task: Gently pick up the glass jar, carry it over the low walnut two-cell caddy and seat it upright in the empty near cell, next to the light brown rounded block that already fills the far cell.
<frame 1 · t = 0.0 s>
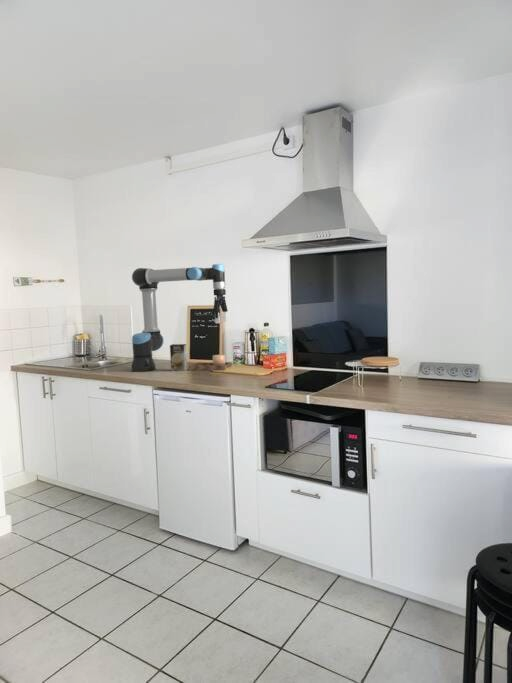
hand: (221, 322, 308), 28 cm above the worktop, fingers open, 13 cm apart
caddy: (210, 369, 298), on the worktop
light brown rounded block: (219, 368, 297), point 1 cm above the worktop, touching caddy
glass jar: (179, 370, 303), on the worktop
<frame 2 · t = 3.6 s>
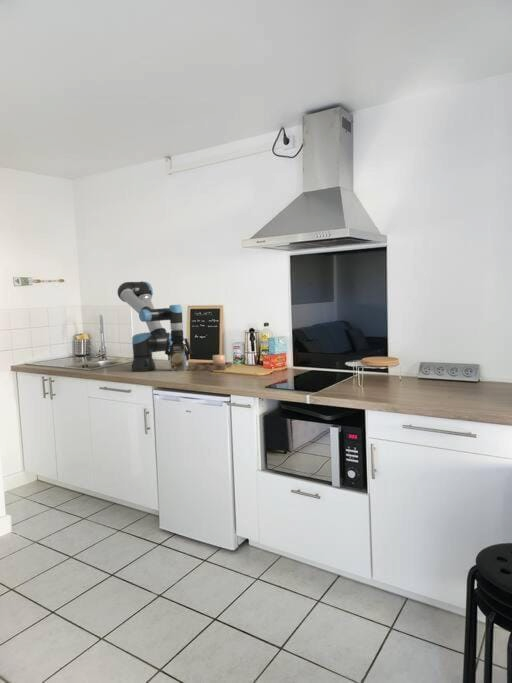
hand: (179, 365, 302), 3 cm above the worktop, fingers closed on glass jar, 10 cm apart
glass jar: (179, 370, 303), on the worktop, touching gripper
everything else where it was.
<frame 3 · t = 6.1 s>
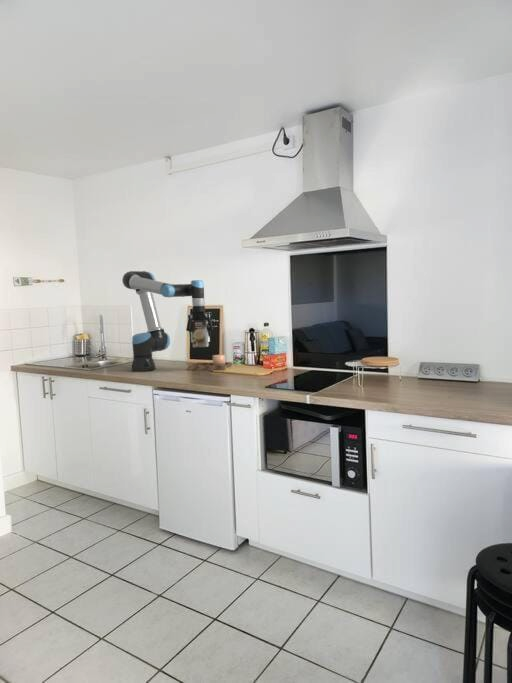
hand: (200, 342, 298), 17 cm above the worktop, fingers closed on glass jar, 10 cm apart
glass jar: (200, 346, 298), point 14 cm above the worktop, touching gripper
everything else where it was.
when the fingers open (5 cm above the worktop, at t = 8.8 s): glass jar drops 1 cm, resting on caddy.
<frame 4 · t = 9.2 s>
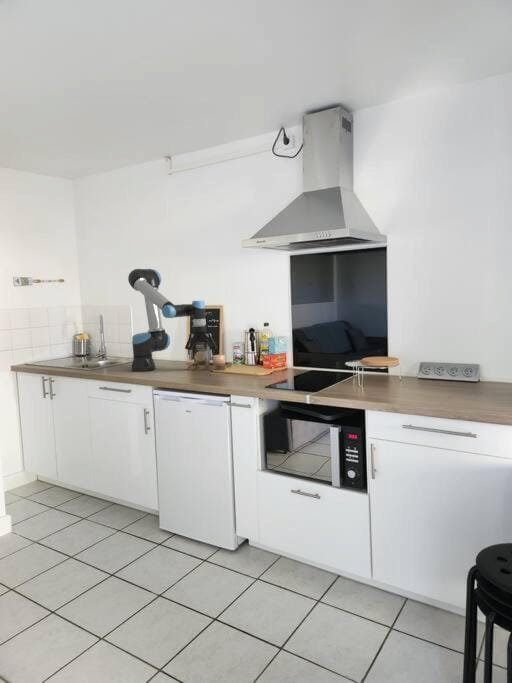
hand: (201, 360, 299), 6 cm above the worktop, fingers open, 13 cm apart
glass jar: (202, 368, 300), point 1 cm above the worktop, touching caddy
everything else where it was.
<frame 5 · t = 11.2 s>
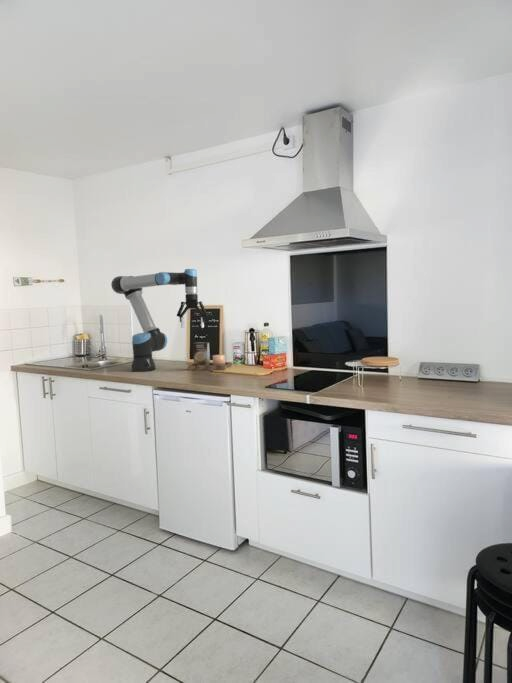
hand: (192, 327, 306), 26 cm above the worktop, fingers open, 13 cm apart
nothing on the worktop moved.
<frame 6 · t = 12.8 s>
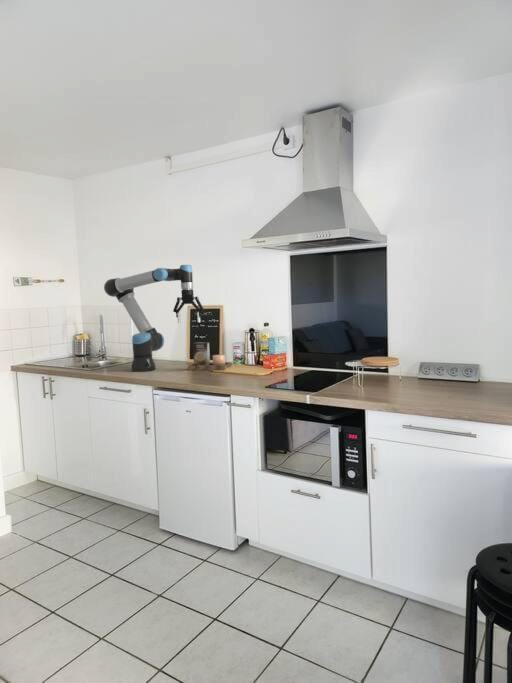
hand: (189, 322, 312), 29 cm above the worktop, fingers open, 13 cm apart
nothing on the worktop moved.
at the end: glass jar inside the target area on the caddy (0.2 cm from its centre), point 0.6 cm above the caddy's base; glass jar tilted 0°; light brown rounded block moved 0.0 cm from its start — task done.
